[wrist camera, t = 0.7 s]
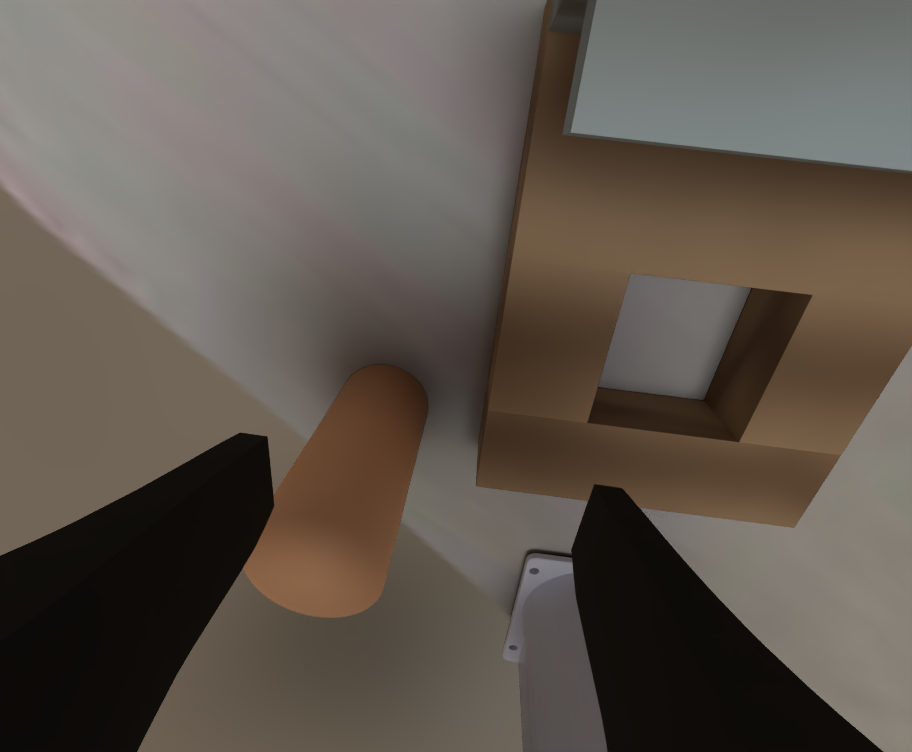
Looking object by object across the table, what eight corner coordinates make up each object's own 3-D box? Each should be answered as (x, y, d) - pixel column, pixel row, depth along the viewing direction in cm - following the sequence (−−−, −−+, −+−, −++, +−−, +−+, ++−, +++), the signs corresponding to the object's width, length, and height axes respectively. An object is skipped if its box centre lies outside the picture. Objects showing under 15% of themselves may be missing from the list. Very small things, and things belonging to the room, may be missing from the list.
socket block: (754, 478, 20) (959, 733, 11) (478, 442, 20) (466, 664, 12) (986, 53, 13) (2138, -182, 4) (545, 5, 13) (657, -315, 4)
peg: (425, 444, 21) (383, 625, 13) (343, 433, 21) (250, 607, 13) (431, 370, 19) (386, 529, 11) (341, 359, 19) (231, 508, 11)
